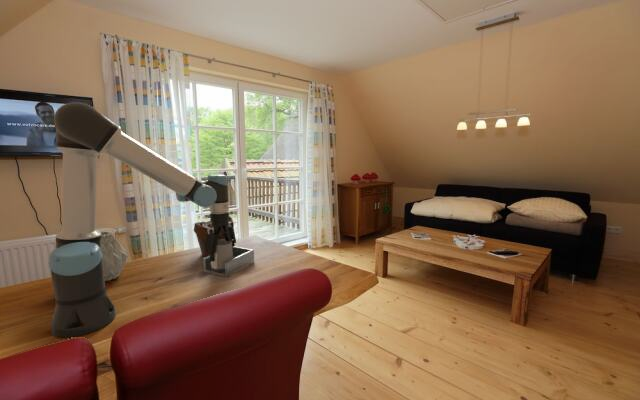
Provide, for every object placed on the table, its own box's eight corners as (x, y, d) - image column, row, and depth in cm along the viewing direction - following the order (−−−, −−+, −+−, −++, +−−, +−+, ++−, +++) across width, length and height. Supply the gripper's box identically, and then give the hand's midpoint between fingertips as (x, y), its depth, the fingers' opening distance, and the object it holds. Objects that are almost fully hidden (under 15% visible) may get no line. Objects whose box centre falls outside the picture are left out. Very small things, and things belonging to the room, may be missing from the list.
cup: (207, 267, 125) (206, 244, 123) (220, 260, 133) (218, 238, 131) (225, 269, 122) (224, 246, 121) (236, 262, 130) (235, 240, 128)
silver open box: (227, 277, 122) (226, 263, 121) (204, 271, 127) (203, 258, 126) (254, 262, 138) (253, 249, 137) (232, 257, 143) (232, 245, 142)
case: (186, 259, 140) (184, 222, 137) (209, 246, 160) (207, 213, 157) (221, 262, 137) (220, 224, 134) (240, 248, 157) (239, 215, 154)
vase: (89, 273, 125) (83, 230, 122) (134, 267, 131) (130, 226, 128) (74, 290, 110) (66, 241, 107) (125, 283, 116) (120, 237, 113)
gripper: (206, 218, 113) (210, 275, 116) (243, 208, 132) (245, 257, 135) (192, 216, 116) (196, 271, 120) (230, 206, 135) (232, 254, 139)
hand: (222, 264), depth 127 cm, fingers closed on cup, 8 cm apart
